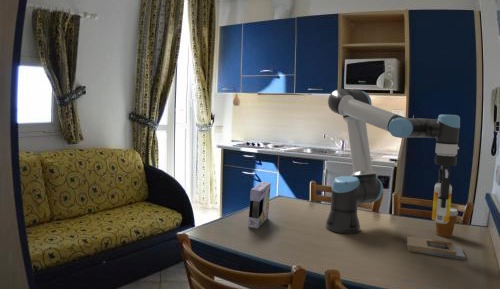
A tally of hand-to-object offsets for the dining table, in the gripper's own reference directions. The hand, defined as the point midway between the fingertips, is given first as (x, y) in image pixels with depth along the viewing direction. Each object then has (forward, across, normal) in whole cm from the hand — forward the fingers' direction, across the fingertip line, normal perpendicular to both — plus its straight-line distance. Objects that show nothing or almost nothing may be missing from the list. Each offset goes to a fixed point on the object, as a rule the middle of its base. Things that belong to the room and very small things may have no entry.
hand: (441, 213), depth 152 cm
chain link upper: (+15, 0, +3) cm, 15 cm away
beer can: (+4, 0, 0) cm, 4 cm away
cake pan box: (+15, +1, +75) cm, 77 cm away
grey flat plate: (+15, 0, -1) cm, 15 cm away
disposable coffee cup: (+15, +24, -5) cm, 29 cm away
